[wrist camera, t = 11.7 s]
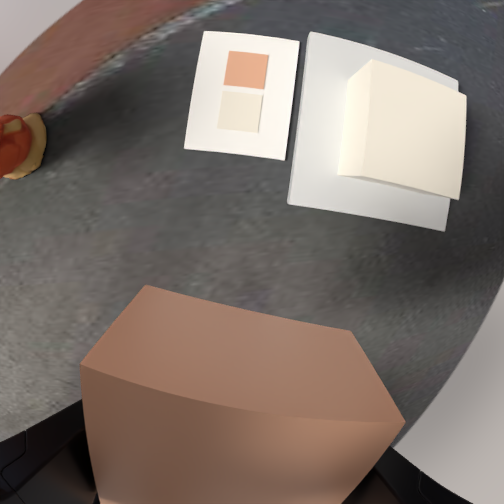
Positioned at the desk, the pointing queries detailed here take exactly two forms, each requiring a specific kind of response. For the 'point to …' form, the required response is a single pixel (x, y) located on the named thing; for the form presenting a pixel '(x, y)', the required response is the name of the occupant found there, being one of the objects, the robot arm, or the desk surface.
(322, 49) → the baseplate
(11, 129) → the figurine
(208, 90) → the page
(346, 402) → the brick orange
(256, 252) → the desk surface
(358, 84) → the brick ivory
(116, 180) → the desk surface
